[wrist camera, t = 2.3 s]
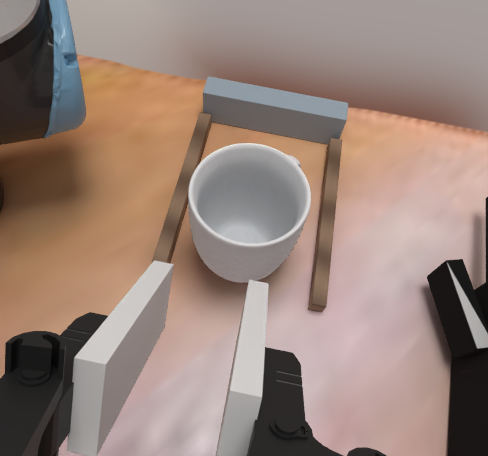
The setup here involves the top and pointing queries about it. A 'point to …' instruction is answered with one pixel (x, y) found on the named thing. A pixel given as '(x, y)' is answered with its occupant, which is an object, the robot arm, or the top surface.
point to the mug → (247, 210)
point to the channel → (324, 224)
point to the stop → (274, 110)
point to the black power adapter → (465, 353)
